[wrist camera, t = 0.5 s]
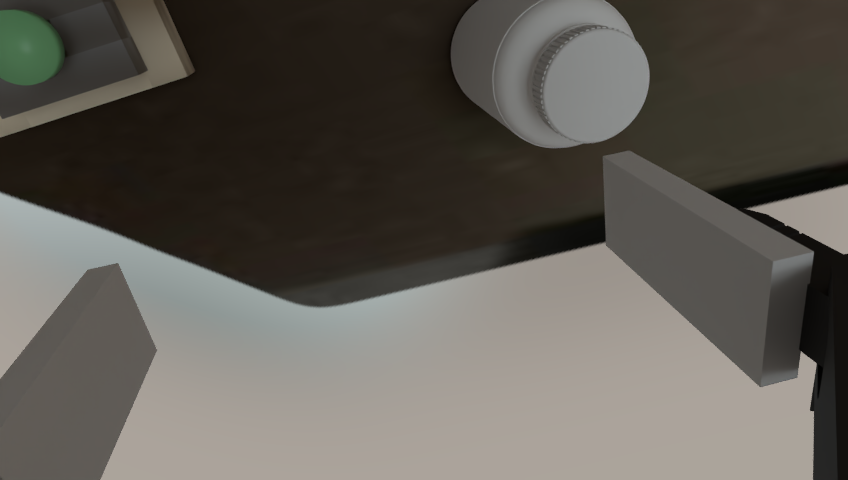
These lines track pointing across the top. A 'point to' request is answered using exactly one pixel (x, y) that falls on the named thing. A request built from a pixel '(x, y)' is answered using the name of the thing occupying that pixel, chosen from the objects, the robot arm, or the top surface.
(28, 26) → the button
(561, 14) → the pill bottle
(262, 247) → the top surface
